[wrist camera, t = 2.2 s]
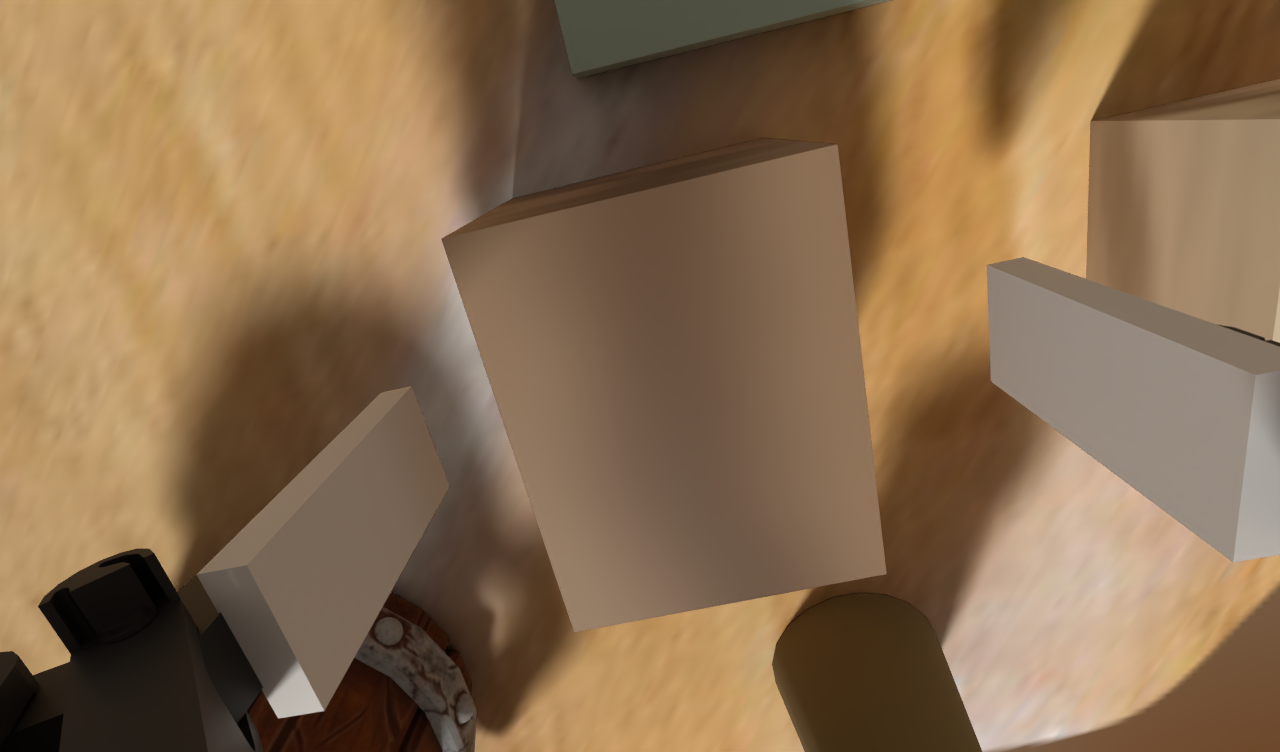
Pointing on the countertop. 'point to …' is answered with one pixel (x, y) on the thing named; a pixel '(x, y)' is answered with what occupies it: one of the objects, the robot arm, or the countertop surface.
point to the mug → (386, 695)
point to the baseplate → (673, 26)
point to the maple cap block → (1192, 206)
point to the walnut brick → (682, 378)
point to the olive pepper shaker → (870, 680)
